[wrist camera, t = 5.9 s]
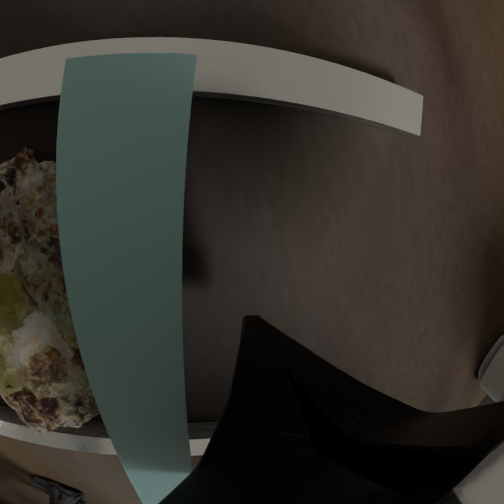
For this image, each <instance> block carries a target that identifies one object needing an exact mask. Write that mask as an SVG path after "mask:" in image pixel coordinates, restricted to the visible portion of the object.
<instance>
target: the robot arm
mask: <svg viewBox="0 0 504 504" xmlns="http://www.w3.org/2000/svg"><path fill="white" fill-rule="evenodd" d="M158 504H504V401H500V402H496V403H492V404H487V405H483V406H477V407H472V408H467V409H461V410H455V411H448V412H441V413H432V412H425V411H422V410H419V409H416V408H414V407H411V406H409V405H407V404H405V403H403V402H400V401H398V400H396V399H394V398H392V397H390V396H388V395H386V394H383V393H381V392H379V391H377V390H375V389H373V388H371V387H369V386H368V385H366V384H364V383H362V382H360V381H358V380H357V379H355V378H353V377H352V376H350V375H348V374H347V373H345V372H343V371H342V370H340V369H337V367H335V366H334V365H332V364H330V363H329V362H327V361H326V360H324V359H323V358H321V357H320V356H318V355H316V354H315V353H313V352H312V351H310V350H309V349H307V348H306V347H304V346H303V345H301V344H299V343H298V342H296V341H295V340H293V339H292V338H290V337H289V336H287V335H286V334H284V333H283V332H281V331H280V330H278V329H277V328H275V327H274V326H272V325H271V324H269V323H268V322H267V321H265V320H264V319H262V318H261V317H260V316H259V315H247V316H244V318H243V321H242V330H241V341H240V346H239V351H238V355H237V360H236V365H235V369H234V374H233V379H232V382H231V387H230V391H229V395H228V398H227V402H226V405H225V407H224V410H223V412H222V415H221V417H220V420H219V422H218V424H217V426H216V428H215V430H214V433H213V435H212V437H211V439H210V441H209V443H208V445H207V447H206V449H205V452H204V454H203V455H202V457H201V459H200V461H199V463H198V464H197V466H196V467H195V469H194V470H193V471H192V472H191V473H190V474H189V475H188V476H187V477H186V478H185V479H184V480H183V481H182V482H181V483H180V484H179V485H178V486H177V487H175V488H174V489H173V490H172V491H171V492H170V493H169V494H168V495H167V496H166V497H165V498H164V499H162V500H161V501H160V502H159V503H158Z"/></svg>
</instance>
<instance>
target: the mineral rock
mask: <svg viewBox="0 0 504 504" xmlns="http://www.w3.org/2000/svg"><path fill="white" fill-rule="evenodd" d="M0 395H1V397H2V398H3V400H4V401H5V402H6V403H7V404H8V405H9V406H10V407H11V408H12V409H14V410H15V411H16V412H17V415H18V417H19V418H20V419H21V420H22V421H23V422H24V423H25V424H26V425H27V427H28V429H31V430H34V431H36V432H38V433H40V434H42V433H44V432H50V431H51V430H54V429H59V428H61V427H75V428H79V427H81V426H82V425H83V423H85V422H87V421H89V420H91V418H93V417H95V416H97V415H99V414H100V412H99V409H98V407H97V404H96V401H95V398H94V395H93V392H92V389H91V386H90V383H89V380H88V377H87V374H86V370H85V367H84V364H83V360H82V357H81V353H80V349H79V346H78V342H77V338H76V334H75V329H74V325H73V321H72V316H71V311H70V306H69V301H68V296H67V290H66V285H65V278H64V272H63V265H62V257H61V249H60V239H59V229H58V215H57V195H56V162H54V161H43V162H41V163H38V161H37V160H35V158H34V155H33V150H30V149H27V148H26V147H25V146H24V148H23V149H22V150H21V151H20V152H19V153H18V154H17V155H16V156H15V157H14V158H13V159H12V160H7V161H5V162H2V163H0Z"/></svg>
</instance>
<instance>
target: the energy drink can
mask: <svg viewBox="0 0 504 504" xmlns="http://www.w3.org/2000/svg"><path fill="white" fill-rule="evenodd" d="M478 377H479V378H480V379H481V382H480V387H481V388H482V389H483V390H484V391H485V392H486V393H487V394H488V395H489V396H490V397H491V398H492V399H493V400H494V401H495V402H500V401H504V334H503V335H502V336H501V337H500V338H499V339H498V340H497V342H496V343H495V344H494V345H493V347H492V348H491V349H490V351H489V352H488V354H487V355H486V357H485V359H484V361H483V362H482V364H481V366H480V369H479V372H478Z"/></svg>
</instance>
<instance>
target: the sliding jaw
mask: <svg viewBox="0 0 504 504" xmlns="http://www.w3.org/2000/svg"><path fill="white" fill-rule="evenodd" d="M196 61H197V54H183V53H123V54H106V55H94V56H85V57H76V58H69V59H66V62H65V68H64V74H63V81H62V88H61V96H60V105H59V115H58V128H57V148H56V195H57V215H58V229H59V239H60V249H61V257H62V265H63V272H64V278H65V285H66V290H67V296H68V301H69V306H70V311H71V316H72V321H73V325H74V329H75V334H76V338H77V342H78V346H79V349H80V353H81V357H82V360H83V364H84V367H85V370H86V374H87V377H88V380H89V383H90V386H91V389H92V392H93V395H94V398H95V401H96V404H97V407H98V409H99V412H100V415H101V417H102V420H103V422H104V425H105V427H106V430H107V432H108V435H109V437H110V439H111V442H112V444H113V446H114V449H115V451H116V453H117V455H118V457H119V459H120V461H121V464H122V466H123V468H124V470H125V472H126V474H127V476H128V478H129V480H130V482H131V483H132V485H133V487H134V489H135V491H136V493H137V495H138V496H139V498H140V500H141V502H142V503H143V504H158V503H159V502H160V501H161V500H162V499H164V498H165V497H166V496H167V495H168V494H169V493H170V492H171V491H172V490H173V489H174V488H175V487H177V486H178V485H179V484H180V483H181V482H182V481H183V480H184V479H185V478H186V477H187V476H188V475H189V474H190V473H191V472H192V462H191V453H190V443H189V433H188V421H187V409H186V394H185V377H184V356H183V325H182V244H183V212H184V191H185V174H186V159H187V145H188V133H189V122H190V112H191V102H192V93H193V84H194V76H195V68H196Z"/></svg>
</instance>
